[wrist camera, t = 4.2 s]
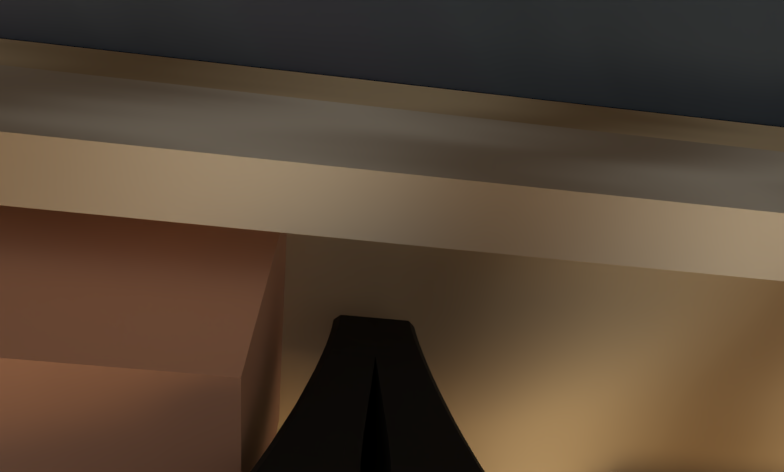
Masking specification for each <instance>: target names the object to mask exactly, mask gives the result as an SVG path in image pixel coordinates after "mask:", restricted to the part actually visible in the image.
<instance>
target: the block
mask: <svg viewBox="0 0 784 472" xmlns="http://www.w3.org/2000/svg"><path fill="white" fill-rule="evenodd" d="M286 239H287V233H281V232H271V231H261V230H250V229H240V228H230V227H219V226H209V225H199V224H188V223H178V222H168V221H157V220H147V219H137V218H127V217H116V216H106V215H96V214H85V213H75V212H65V211H54V210H44V209H34V208H23V207H13V206H3V205H0V472H250V471H251V470H252V469H253V467H254V466H255V464H256V463H257V462H258V460H259V459H260V458H261V456H262V455H263V453H264V452H265V451H266V449H267V448H268V446H269V445H270V443H271V442H272V440H273V439H274V437H275V436H276V434H277V428H278V423H279V408H280V384H281V360H282V336H283V311H284V287H285V263H286Z"/></svg>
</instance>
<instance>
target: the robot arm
mask: <svg viewBox="0 0 784 472" xmlns="http://www.w3.org/2000/svg"><path fill="white" fill-rule="evenodd" d="M250 472H485V471H484V470H483V468H482V466H481V465H480V463H479V462H478V460H477V458H476V457H475V455H474V453H473V452H472V450H471V448H470V447H469V445H468V443H467V441H466V440H465V438H464V436H463V435H462V433H461V431H460V429H459V427H458V426H457V424H456V422H455V420H454V418H453V416H452V414H451V412H450V410H449V408H448V406H447V404H446V402H445V400H444V399H443V397H442V395H441V393H440V391H439V388H438V386H437V384H436V382H435V380H434V378H433V375H432V373H431V371H430V369H429V366H428V364H427V362H426V359H425V357H424V354H423V352H422V349H421V346H420V344H419V341H418V338H417V335H416V332H415V328H414V326H413V325H412V324H411V323H410V322H409V321H406V320H395V319H383V318H372V317H361V316H349V315H339V316H338V317H336V318H335V319H333V324H332V328H331V332H330V335H329V338H328V340H327V343H326V346H325V348H324V350H323V353H322V355H321V357H320V359H319V361H318V363H317V366H316V368H315V370H314V372H313V373H312V375H311V377H310V379H309V381H308V383H307V385H306V386H305V388H304V390H303V392H302V394H301V396H300V397H299V399H298V401H297V403H296V404H295V406H294V408H293V409H292V411H291V412H290V414H289V416H288V417H287V419H286V420H285V422H284V423H283V425H282V426H281V428H280V430H279V431H278V433H277V434H276V436H275V437H274V439H273V440H272V442H271V443H270V445H269V446H268V448H267V449H266V451H265V452H264V453H263V455H262V456H261V458H260V459H259V460H258V462H257V463H256V464H255V466H254V467H253V469H252V470H251V471H250Z"/></svg>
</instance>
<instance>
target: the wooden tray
mask: <svg viewBox="0 0 784 472" xmlns="http://www.w3.org/2000/svg"><path fill="white" fill-rule="evenodd" d="M0 205H3V206H13V207H23V208H34V209H44V210H54V211H65V212H75V213H85V214H96V215H106V216H116V217H127V218H137V219H147V220H157V221H168V222H178V223H188V224H199V225H209V226H219V227H230V228H240V229H250V230H261V231H271V232H281V233H287V239H286V263H285V287H284V311H283V336H282V360H281V384H280V408H279V423H278V428H277V433H278V431H279V430H280V428H281V426H282V425H283V423H284V422H285V420H286V419H287V417H288V416H289V414H290V412H291V411H292V409H293V408H294V406H295V404H296V403H297V401H298V399H299V397H300V396H301V394H302V392H303V390H304V388H305V386H306V385H307V383H308V381H309V379H310V377H311V375H312V373H313V372H314V370H315V368H316V366H317V363H318V361H319V359H320V357H321V355H322V353H323V350H324V348H325V346H326V343H327V340H328V338H329V335H330V332H331V328H332V324H333V319H335V318H336V317H338V316H339V315H349V316H361V317H372V318H383V319H395V320H406V321H409V322H410V323H411V324H412V325H413V326H414V328H415V332H416V335H417V338H418V341H419V344H420V346H421V349H422V352H423V354H424V357H425V359H426V362H427V364H428V366H429V369H430V371H431V373H432V375H433V378H434V380H435V382H436V384H437V386H438V388H439V391H440V393H441V395H442V397H443V399H444V400H445V402H446V404H447V406H448V408H449V410H450V412H451V414H452V416H453V418H454V420H455V422H456V424H457V426H458V427H459V429H460V431H461V433H462V435H463V436H464V438H465V440H466V441H467V443H468V445H469V447H470V448H471V450H472V452H473V453H474V455H475V457H476V458H477V460H478V462H479V463H480V465H481V466H482V468H483V470H484V471H485V472H784V127H775V126H766V125H757V124H749V123H740V122H731V121H722V120H713V119H705V118H696V117H687V116H678V115H669V114H661V113H652V112H643V111H634V110H625V109H617V108H608V107H599V106H590V105H581V104H573V103H564V102H555V101H546V100H537V99H529V98H520V97H511V96H502V95H493V94H485V93H476V92H467V91H458V90H449V89H441V88H432V87H423V86H414V85H405V84H397V83H388V82H379V81H370V80H361V79H353V78H344V77H335V76H326V75H317V74H309V73H300V72H291V71H282V70H273V69H265V68H256V67H247V66H238V65H229V64H221V63H212V62H203V61H194V60H185V59H177V58H168V57H159V56H150V55H141V54H133V53H124V52H115V51H106V50H97V49H89V48H80V47H71V46H62V45H53V44H45V43H36V42H27V41H18V40H9V39H1V38H0Z"/></svg>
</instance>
